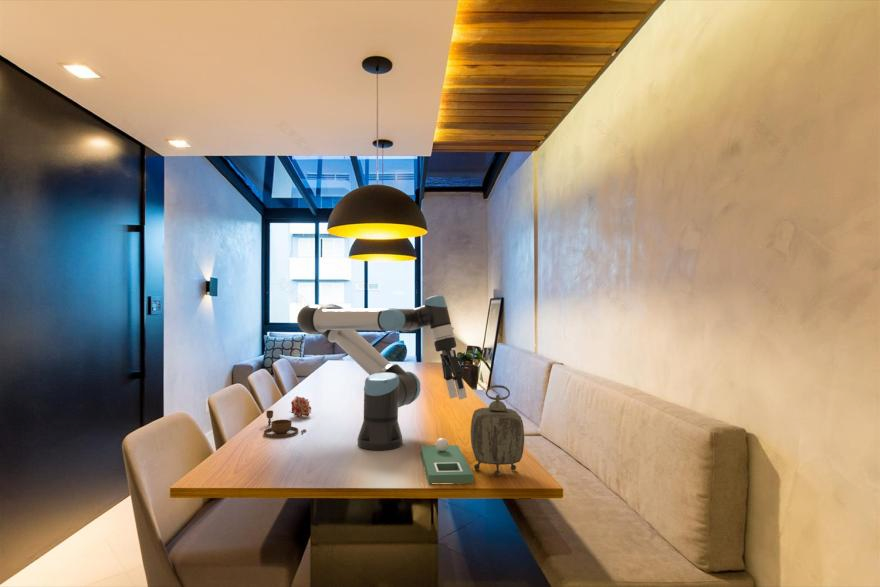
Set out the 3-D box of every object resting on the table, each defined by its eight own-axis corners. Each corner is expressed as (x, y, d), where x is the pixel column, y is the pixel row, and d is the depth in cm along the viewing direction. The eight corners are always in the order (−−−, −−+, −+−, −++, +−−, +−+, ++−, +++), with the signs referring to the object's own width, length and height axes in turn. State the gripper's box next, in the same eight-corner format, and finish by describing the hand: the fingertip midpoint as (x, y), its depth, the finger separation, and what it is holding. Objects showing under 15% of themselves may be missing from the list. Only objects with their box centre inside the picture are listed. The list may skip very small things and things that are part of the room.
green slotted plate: (428, 484, 121) (428, 475, 121) (420, 453, 147) (420, 445, 147) (473, 483, 122) (473, 474, 122) (457, 453, 148) (457, 445, 148)
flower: (281, 413, 189) (290, 399, 187) (291, 404, 198) (300, 390, 196) (300, 427, 188) (309, 413, 186) (309, 417, 197) (319, 404, 195)
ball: (436, 453, 139) (436, 440, 139) (434, 449, 143) (434, 436, 143) (449, 453, 140) (449, 440, 140) (447, 449, 144) (447, 436, 144)
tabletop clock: (518, 468, 135) (520, 383, 136) (525, 480, 126) (526, 388, 127) (469, 467, 135) (471, 382, 136) (472, 479, 126) (474, 387, 126)
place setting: (250, 440, 159) (251, 423, 159) (264, 425, 179) (265, 410, 179) (302, 439, 161) (303, 422, 161) (311, 425, 181) (311, 410, 181)
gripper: (462, 332, 151) (478, 396, 148) (446, 339, 175) (459, 394, 172) (440, 337, 149) (456, 402, 146) (427, 344, 173) (440, 399, 170)
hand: (458, 398), depth 159 cm, fingers open, 13 cm apart
